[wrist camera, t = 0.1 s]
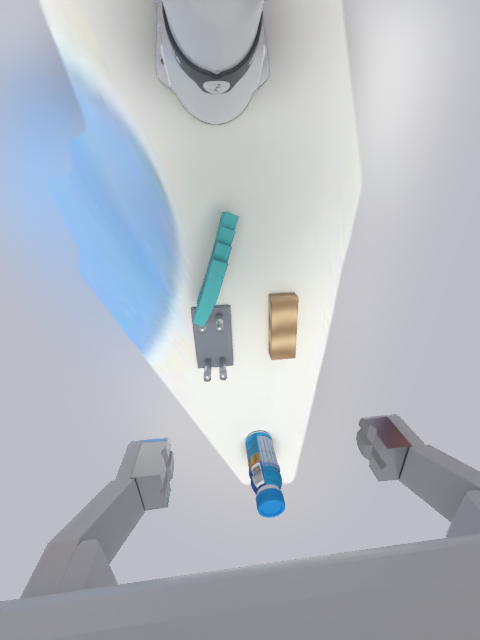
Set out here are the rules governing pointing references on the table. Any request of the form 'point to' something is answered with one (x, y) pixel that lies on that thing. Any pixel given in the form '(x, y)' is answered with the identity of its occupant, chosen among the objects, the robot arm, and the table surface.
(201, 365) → the peg rack
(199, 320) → the alien figure
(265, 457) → the beverage bottle
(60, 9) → the table surface
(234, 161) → the table surface
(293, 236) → the table surface
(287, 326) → the brown wooden block
